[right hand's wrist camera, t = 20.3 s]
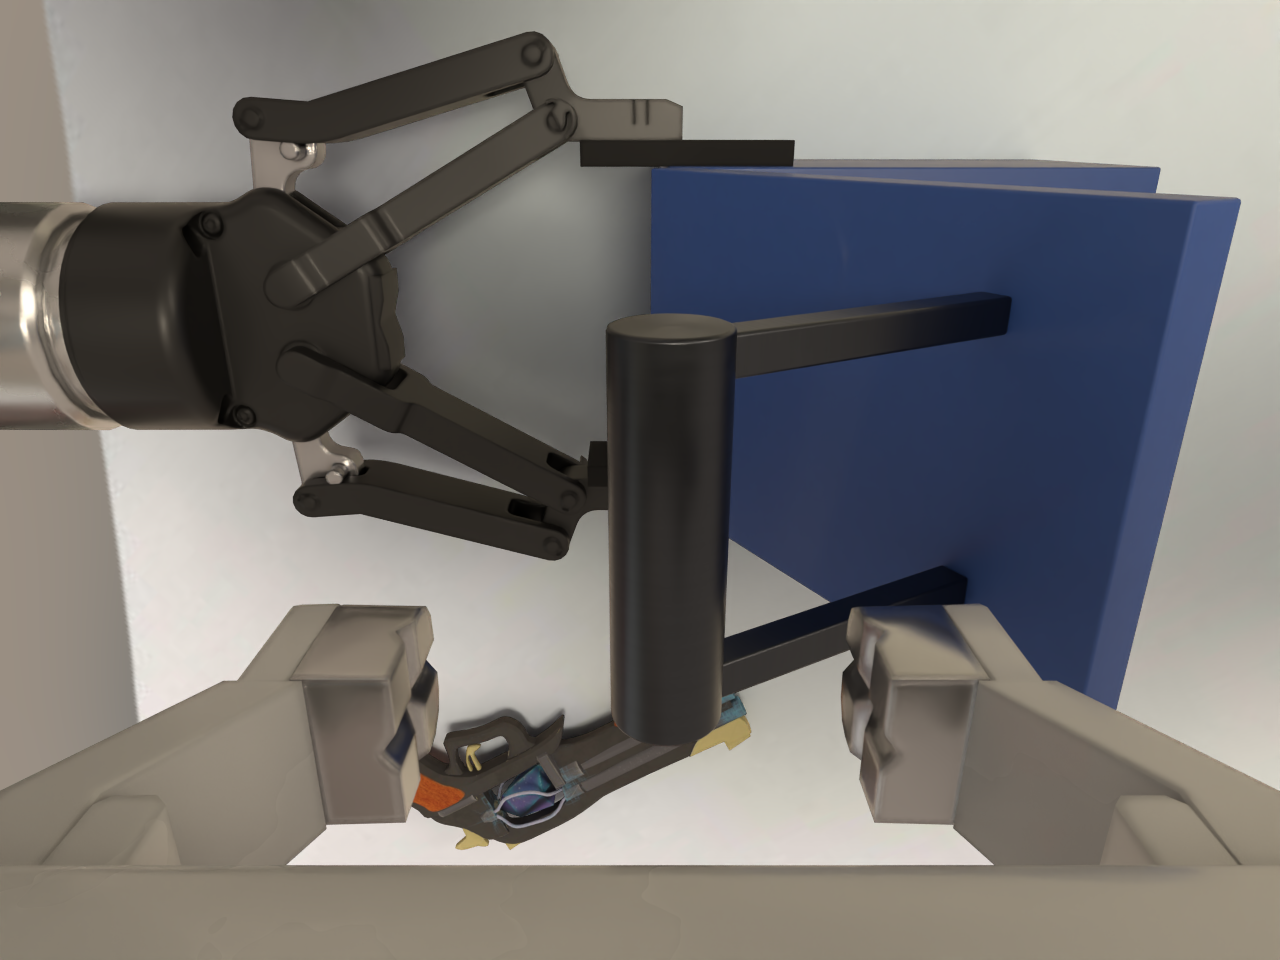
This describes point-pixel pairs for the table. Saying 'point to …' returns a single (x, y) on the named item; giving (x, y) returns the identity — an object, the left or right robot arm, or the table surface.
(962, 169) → the chest
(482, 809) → the toy gun
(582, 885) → the right robot arm
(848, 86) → the table surface
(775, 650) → the lid
